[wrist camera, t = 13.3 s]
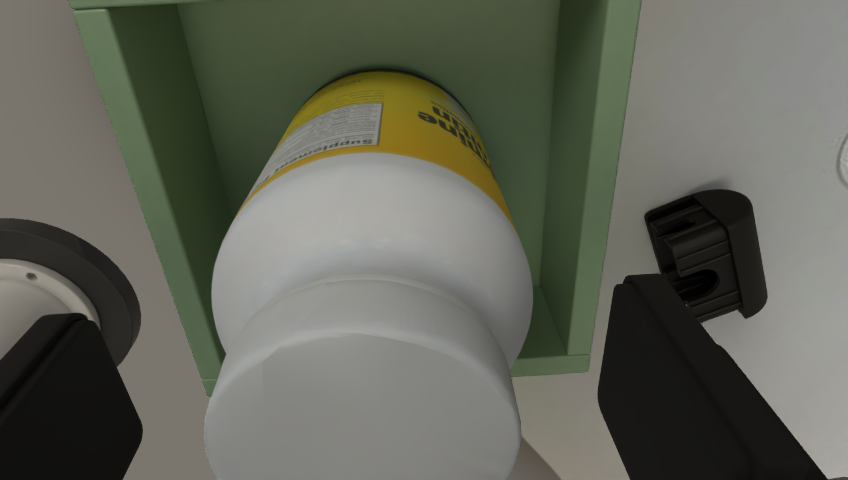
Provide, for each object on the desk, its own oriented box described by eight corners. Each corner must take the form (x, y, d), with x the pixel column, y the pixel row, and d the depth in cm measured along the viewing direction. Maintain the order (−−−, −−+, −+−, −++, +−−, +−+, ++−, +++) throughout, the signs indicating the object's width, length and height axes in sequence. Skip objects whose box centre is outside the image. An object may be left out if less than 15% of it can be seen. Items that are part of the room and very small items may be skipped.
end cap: (739, 263, 51) (783, 306, 45) (665, 291, 52) (699, 337, 46) (722, 176, 46) (769, 212, 40) (641, 209, 47) (675, 248, 41)
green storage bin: (242, 311, 22) (207, 398, 18) (144, -42, 15) (54, -31, 11) (554, 291, 22) (589, 373, 18) (586, -67, 15) (652, -65, 11)
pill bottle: (480, 238, 20) (567, 564, 10) (303, 249, 19) (202, 590, 9) (481, 54, 16) (614, 255, 6) (268, 66, 16) (57, 291, 6)
